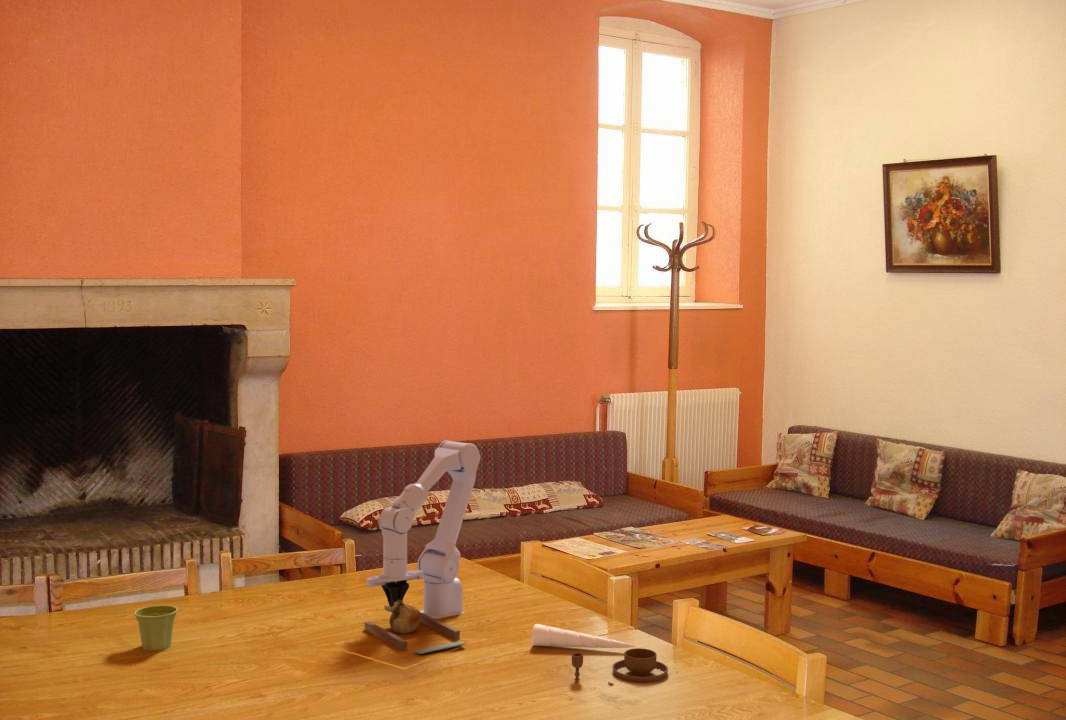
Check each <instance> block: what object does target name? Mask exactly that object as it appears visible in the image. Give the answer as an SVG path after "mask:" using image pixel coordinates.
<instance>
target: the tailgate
mask: <svg viewBox="0 0 1066 720" xmlns="http://www.w3.org/2000/svg"><path fill="white" fill-rule="evenodd" d="M466 645H467V642H462V641H461V642H460V641H454V642H450V643H444V644H440V645H435V646H430V647H426V648H420V649H416V650H415V649H414V650H411V652H412V653H414V654H418V655H419V654H420V655H422V654H427V653H431V652H435V651H436V652H437V651H440V650H447V649H450V648H455V647H461V646H466Z"/></svg>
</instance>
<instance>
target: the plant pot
mask: <svg viewBox="0 0 1066 720" xmlns="http://www.w3.org/2000/svg"><path fill="white" fill-rule="evenodd" d="M178 611H179V608H178V607H177V606H174V605H168V604H167V605H166V604H162V605H161V604H160V605H159V604H158V605H150V606H145V607H140V608H138V609H136V610H135V611H134V613H133V615H134V616H135V617H136V621H137V623H138V627H139V633H140V634H139V635H140V640H141V646H142V650H144V651H147V650H148V652H154V651H158V652H159V651H163V649H164V650H167V649H169V648H170V647H171V646H172V642H173V641H172V640H173V633H174V626H175V625H174V623H175V619H176V616H177V613H178Z"/></svg>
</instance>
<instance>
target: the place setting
mask: <svg viewBox="0 0 1066 720" xmlns="http://www.w3.org/2000/svg"><path fill="white" fill-rule="evenodd" d="M623 655H624V656H623V659H621V660H618V661H615V662H614V663H613V664H612V671H613V674H614V675H615V676H616V677H617V678H619V679H622V680H624V681H629V682H633V683H653V682H657V681H661V680H663V679H664V678H666V677H667V675H668V673H669V668H668V667H669V666H667V665H666V664H665V663H663V662H660V661H657V657H658V656H657V652H655V651H654V650H652V649H648V648H640V647H639V648H638V647H637V648H635V647H634V648H630V649H629V648H628V649H627V650H625V651H624V652H623ZM583 665H584V654H583V653H581V652H573V653H571V666H572V667H573V668H574V670H575V672H574V676H575V678H574V679H573V680H574V681H578V682H579V681H581V678H580V675H581V674H580V669H581V668H582V667H583ZM624 667H625V669H626V670H628V671H629V672H630V673H631V674H632V675H629V674H626V673H622V672H619V670H620V669H622V668H624ZM656 668H657V669H656ZM655 669H656V670H659V669H660V670H661V671H663V672H664V673H662V672H661V671H660V670H659V671H660V672H661V673H660V674H657V675H656V674H655V675H651V676H648V675H649V674H650V673H651V672H653V671H654V670H655ZM607 685H608V686H612V687H613V686H614V685H615V684H614V683H612V682H610V681H608V682H607Z"/></svg>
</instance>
